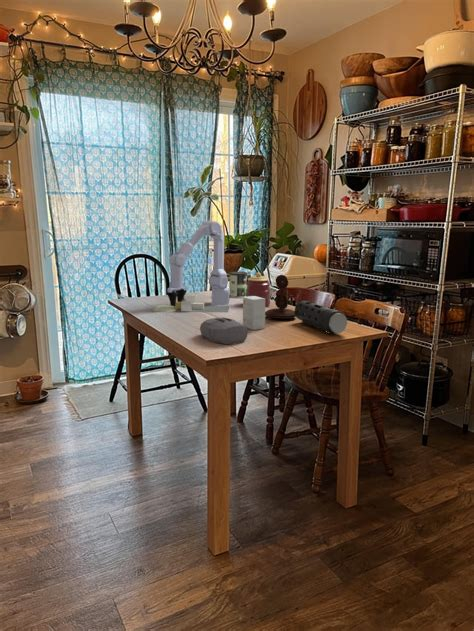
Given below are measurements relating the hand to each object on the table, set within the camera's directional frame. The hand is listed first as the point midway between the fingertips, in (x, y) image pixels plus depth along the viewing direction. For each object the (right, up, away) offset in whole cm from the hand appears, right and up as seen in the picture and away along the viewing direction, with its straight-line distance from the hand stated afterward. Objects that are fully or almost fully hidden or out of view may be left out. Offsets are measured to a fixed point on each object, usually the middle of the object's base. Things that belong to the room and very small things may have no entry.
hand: (176, 305), depth 245 cm
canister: (+41, 0, +13) cm, 43 cm away
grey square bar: (+6, -2, +1) cm, 6 cm away
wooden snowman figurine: (+51, -7, -17) cm, 54 cm away
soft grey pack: (+24, -15, -54) cm, 61 cm away
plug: (+6, -2, +1) cm, 6 cm away
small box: (+38, -11, -36) cm, 53 cm away
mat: (+8, -2, +1) cm, 9 cm away
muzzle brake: (+66, -11, -37) cm, 76 cm away
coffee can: (+31, +6, +39) cm, 51 cm away
